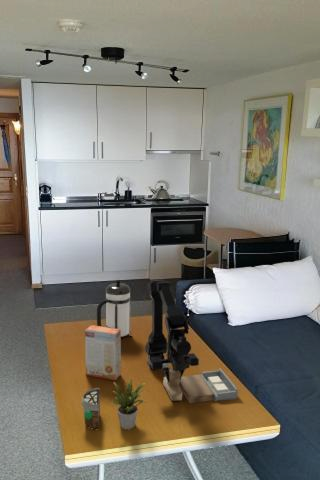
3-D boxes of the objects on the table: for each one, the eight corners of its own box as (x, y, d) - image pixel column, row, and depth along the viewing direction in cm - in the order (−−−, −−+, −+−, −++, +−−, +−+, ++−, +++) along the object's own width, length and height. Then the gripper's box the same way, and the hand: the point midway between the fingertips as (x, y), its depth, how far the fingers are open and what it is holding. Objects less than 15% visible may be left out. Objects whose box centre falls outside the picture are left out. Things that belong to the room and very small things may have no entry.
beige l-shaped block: (171, 400, 174) (174, 378, 173) (163, 383, 187) (165, 363, 185) (181, 400, 176) (184, 378, 174) (172, 383, 188) (175, 363, 186)
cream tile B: (211, 386, 186) (211, 382, 186) (207, 381, 191) (207, 377, 190) (221, 385, 187) (222, 381, 187) (217, 380, 192) (218, 376, 191)
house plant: (154, 436, 154) (155, 391, 151) (114, 442, 150) (114, 397, 147) (143, 412, 168) (144, 371, 165) (106, 418, 164) (106, 376, 161)
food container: (83, 412, 167) (82, 387, 165) (100, 411, 168) (99, 386, 166) (80, 432, 155) (79, 406, 153) (98, 432, 156) (98, 405, 154)
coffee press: (105, 329, 244) (105, 274, 239) (134, 331, 242) (135, 276, 237) (96, 342, 228) (96, 284, 222) (128, 344, 226) (128, 286, 220)
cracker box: (121, 374, 196) (121, 328, 192) (115, 381, 190) (115, 334, 186) (91, 369, 200) (91, 324, 196) (85, 375, 194) (84, 329, 190)
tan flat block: (189, 403, 175) (189, 397, 174) (177, 382, 190) (177, 377, 190) (213, 400, 177) (213, 394, 177) (199, 380, 193) (200, 374, 192)
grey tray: (215, 401, 177) (216, 391, 176) (200, 378, 194) (200, 370, 193) (237, 398, 179) (237, 389, 178) (219, 376, 196) (220, 367, 195)
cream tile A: (217, 394, 180) (217, 390, 180) (213, 389, 185) (213, 384, 184) (227, 393, 181) (228, 389, 181) (223, 387, 186) (223, 383, 185)
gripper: (156, 355, 167) (155, 394, 170) (204, 351, 172) (202, 388, 175) (149, 343, 178) (148, 379, 181) (194, 339, 183) (193, 375, 186)
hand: (173, 381), depth 180 cm, fingers closed on beige l-shaped block, 4 cm apart
